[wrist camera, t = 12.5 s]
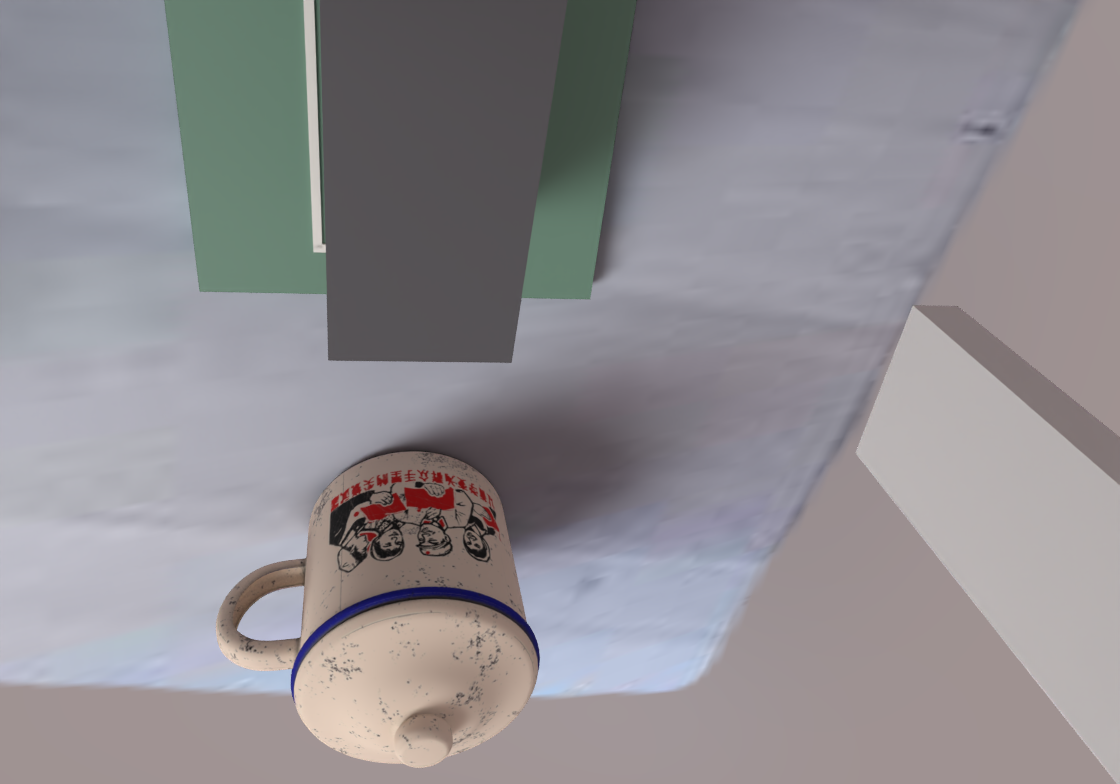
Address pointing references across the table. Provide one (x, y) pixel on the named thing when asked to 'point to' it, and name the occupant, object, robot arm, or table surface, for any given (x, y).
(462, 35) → the block
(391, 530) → the teacup with lid
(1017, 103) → the table surface
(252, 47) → the pin board
